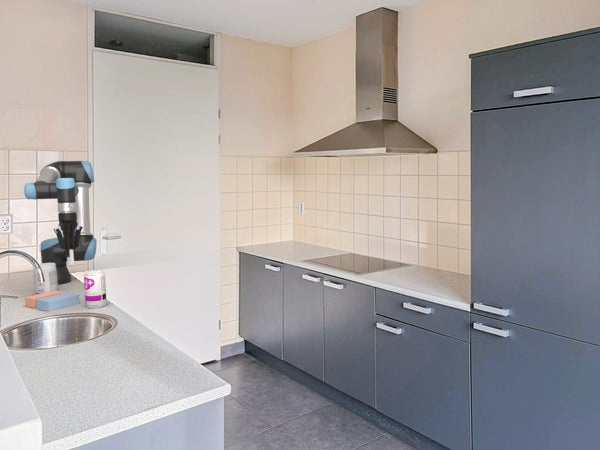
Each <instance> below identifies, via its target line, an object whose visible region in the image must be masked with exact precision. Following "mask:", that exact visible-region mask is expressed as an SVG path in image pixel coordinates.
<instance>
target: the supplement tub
mask: <svg viewBox="0 0 600 450" xmlns="http://www.w3.org/2000/svg"><path fill="white" fill-rule="evenodd" d="M39 264H40V266H41V268H42V271H43V274H44V277H45V282H44V283H40V282H38V277H37V273H36V270H35V268H34V267H33V266H32V271H33V283H34V293H35V294H34V295H38V294H42V293H47V292H51V291H56V290H57V291H59V284H58V282H57V270H56V264H55V263H42V262H41V263H39Z"/></svg>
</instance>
